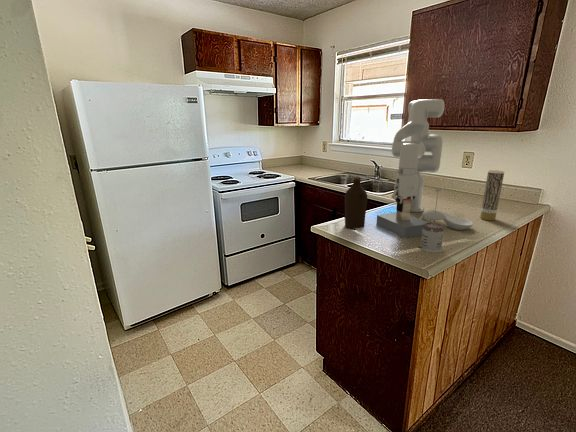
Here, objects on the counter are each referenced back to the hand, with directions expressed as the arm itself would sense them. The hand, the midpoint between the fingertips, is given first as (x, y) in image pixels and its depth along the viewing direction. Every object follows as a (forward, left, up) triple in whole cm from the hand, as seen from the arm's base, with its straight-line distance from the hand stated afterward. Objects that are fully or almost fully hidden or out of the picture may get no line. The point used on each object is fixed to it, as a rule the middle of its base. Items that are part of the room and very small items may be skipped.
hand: (403, 210), depth 144 cm
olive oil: (-14, -17, -11) cm, 24 cm away
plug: (0, 0, -5) cm, 5 cm away
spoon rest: (+2, +24, -11) cm, 27 cm away
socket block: (0, 0, -10) cm, 10 cm away
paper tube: (+3, +53, -11) cm, 54 cm away
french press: (+20, -2, -11) cm, 23 cm away
